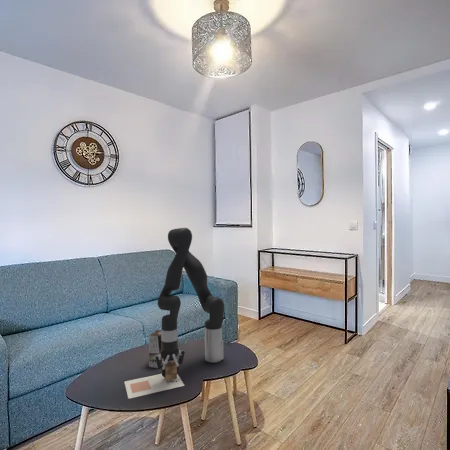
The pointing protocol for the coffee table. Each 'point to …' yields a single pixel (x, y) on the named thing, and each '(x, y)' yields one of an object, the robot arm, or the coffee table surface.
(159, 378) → the mat
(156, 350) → the coffee box
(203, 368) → the coffee table surface
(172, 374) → the walnut block
